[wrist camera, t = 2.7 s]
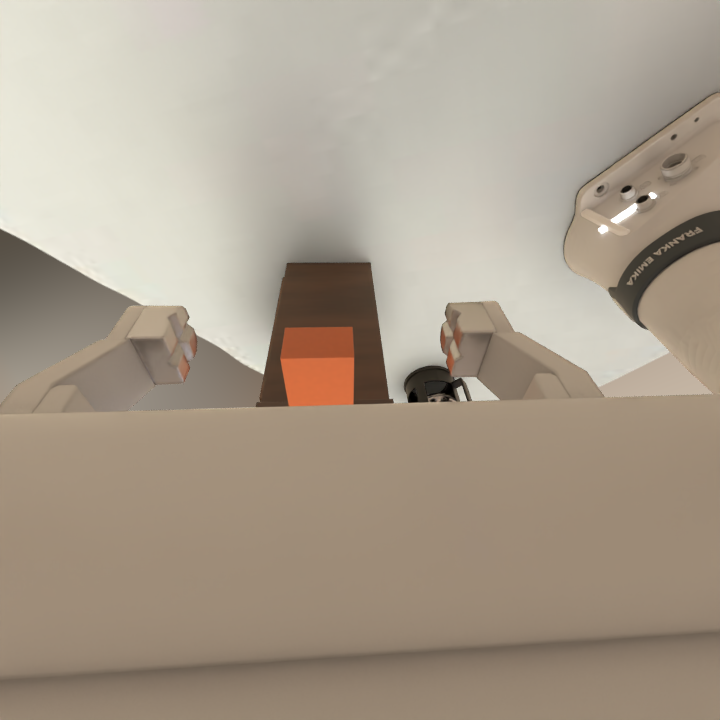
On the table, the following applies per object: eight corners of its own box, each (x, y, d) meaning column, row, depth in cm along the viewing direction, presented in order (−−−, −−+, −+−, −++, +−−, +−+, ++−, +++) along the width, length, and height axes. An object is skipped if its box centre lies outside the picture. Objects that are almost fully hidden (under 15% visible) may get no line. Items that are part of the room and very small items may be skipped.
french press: (417, 406, 73) (442, 523, 56) (391, 383, 68) (409, 504, 51) (470, 380, 68) (514, 499, 52) (446, 353, 63) (486, 476, 46)
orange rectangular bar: (284, 327, 24) (280, 358, 22) (352, 326, 24) (354, 357, 22) (311, 497, 42) (310, 524, 39) (350, 495, 42) (351, 522, 40)
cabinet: (276, 260, 49) (241, 416, 30) (372, 260, 50) (395, 412, 31) (289, 343, 60) (268, 496, 41) (368, 342, 60) (383, 492, 42)
